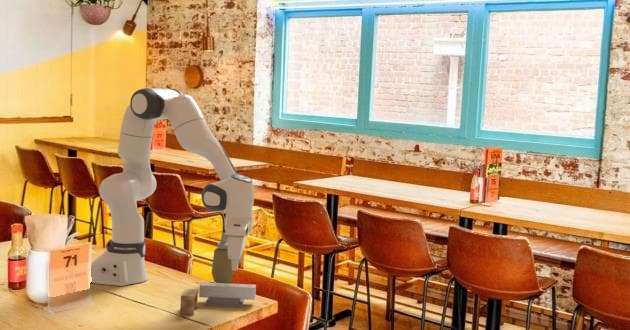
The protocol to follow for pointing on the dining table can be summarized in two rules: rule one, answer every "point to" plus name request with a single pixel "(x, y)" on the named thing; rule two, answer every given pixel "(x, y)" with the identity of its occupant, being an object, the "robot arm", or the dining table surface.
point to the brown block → (189, 301)
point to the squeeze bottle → (222, 262)
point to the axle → (227, 291)
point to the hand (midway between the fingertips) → (236, 266)
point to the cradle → (224, 302)
